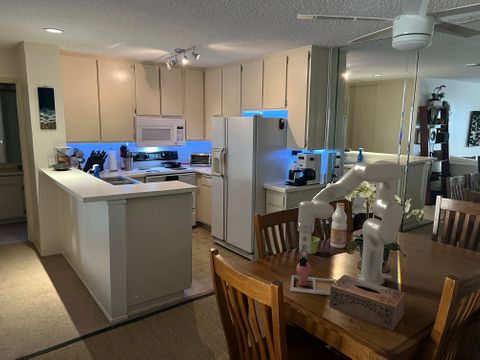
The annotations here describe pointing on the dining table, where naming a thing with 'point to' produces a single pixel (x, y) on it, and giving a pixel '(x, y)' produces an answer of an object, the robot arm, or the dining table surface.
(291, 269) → the dining table surface
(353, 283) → the tissue box cover
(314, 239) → the plant pot
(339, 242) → the fruit juice
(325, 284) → the rail frame
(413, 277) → the dining table surface
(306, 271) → the light bulb
